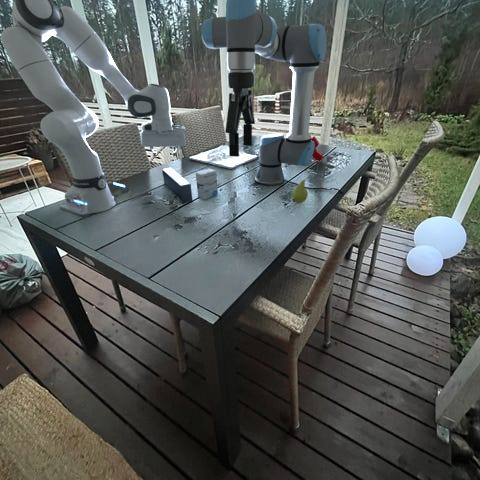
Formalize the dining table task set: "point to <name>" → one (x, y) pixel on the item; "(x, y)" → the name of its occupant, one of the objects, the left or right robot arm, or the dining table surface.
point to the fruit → (300, 192)
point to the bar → (177, 185)
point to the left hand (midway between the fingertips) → (165, 155)
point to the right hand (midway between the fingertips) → (241, 150)
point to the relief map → (223, 157)
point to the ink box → (206, 183)
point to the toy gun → (316, 153)
